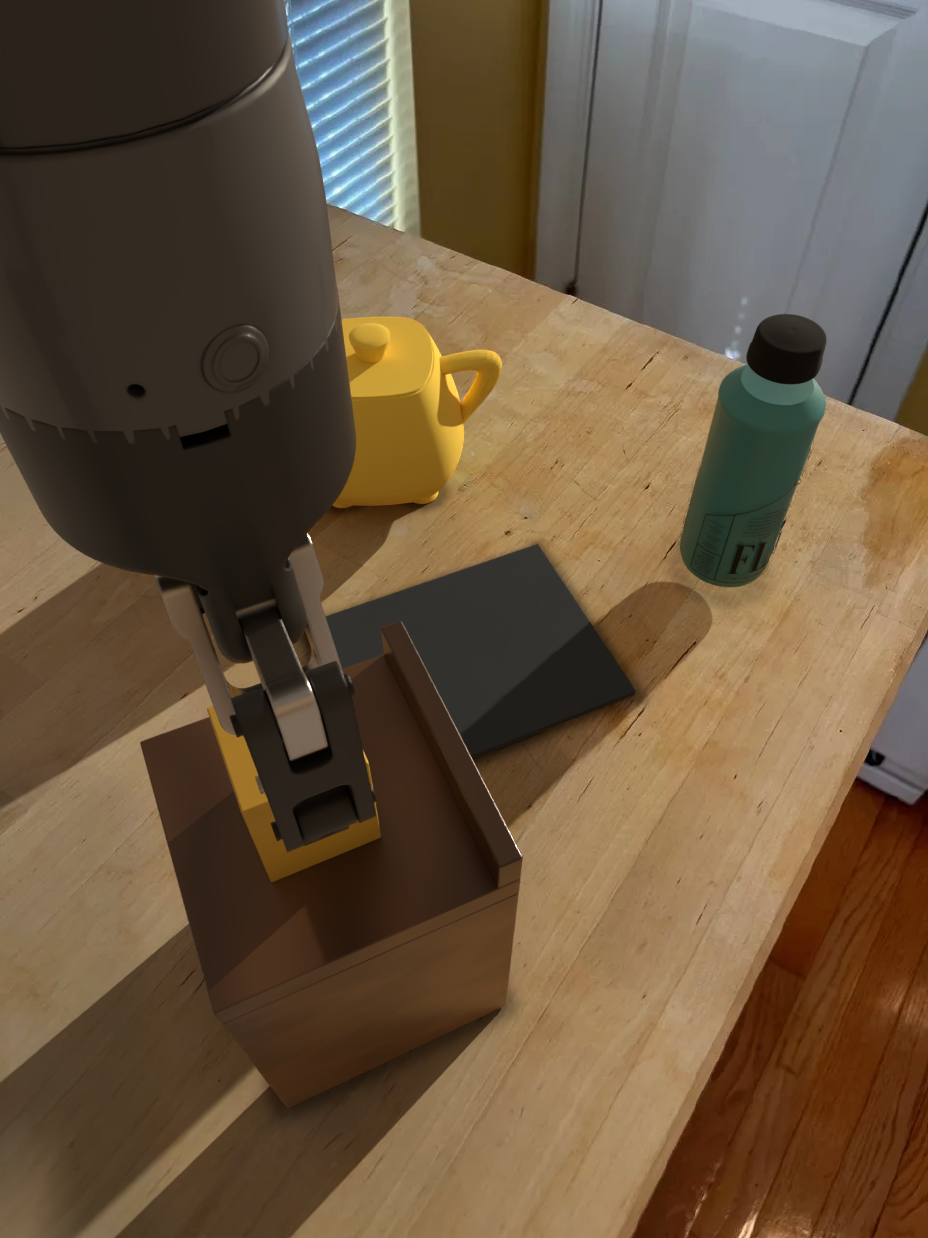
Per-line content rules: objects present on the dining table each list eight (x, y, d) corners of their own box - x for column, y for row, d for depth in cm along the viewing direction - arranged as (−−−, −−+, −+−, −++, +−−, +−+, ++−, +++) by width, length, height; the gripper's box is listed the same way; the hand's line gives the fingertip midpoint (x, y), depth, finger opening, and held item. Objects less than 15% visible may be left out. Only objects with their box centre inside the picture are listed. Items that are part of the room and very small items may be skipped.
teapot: (251, 417, 78) (219, 283, 68) (491, 406, 79) (494, 272, 69) (238, 536, 70) (200, 404, 60) (506, 522, 70) (513, 389, 61)
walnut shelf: (287, 1109, 46) (200, 997, 31) (222, 893, 53) (125, 716, 38) (506, 1005, 49) (523, 857, 34) (419, 813, 56) (401, 619, 41)
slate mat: (375, 798, 57) (375, 793, 56) (303, 629, 64) (301, 623, 64) (635, 695, 61) (636, 690, 61) (537, 548, 69) (538, 543, 68)
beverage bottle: (714, 617, 65) (793, 383, 49) (653, 556, 68) (709, 319, 52) (783, 579, 67) (881, 342, 51) (721, 522, 70) (794, 283, 55)
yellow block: (271, 883, 36) (241, 813, 31) (238, 786, 38) (206, 707, 33) (381, 837, 37) (369, 763, 32) (342, 746, 39) (325, 664, 35)
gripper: (-78, 172, 22) (125, 602, 35) (6, 609, 14) (228, 957, 27) (234, 109, 24) (317, 540, 37) (464, 465, 16) (467, 855, 29)
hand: (279, 716), depth 32 cm, fingers open, 8 cm apart
